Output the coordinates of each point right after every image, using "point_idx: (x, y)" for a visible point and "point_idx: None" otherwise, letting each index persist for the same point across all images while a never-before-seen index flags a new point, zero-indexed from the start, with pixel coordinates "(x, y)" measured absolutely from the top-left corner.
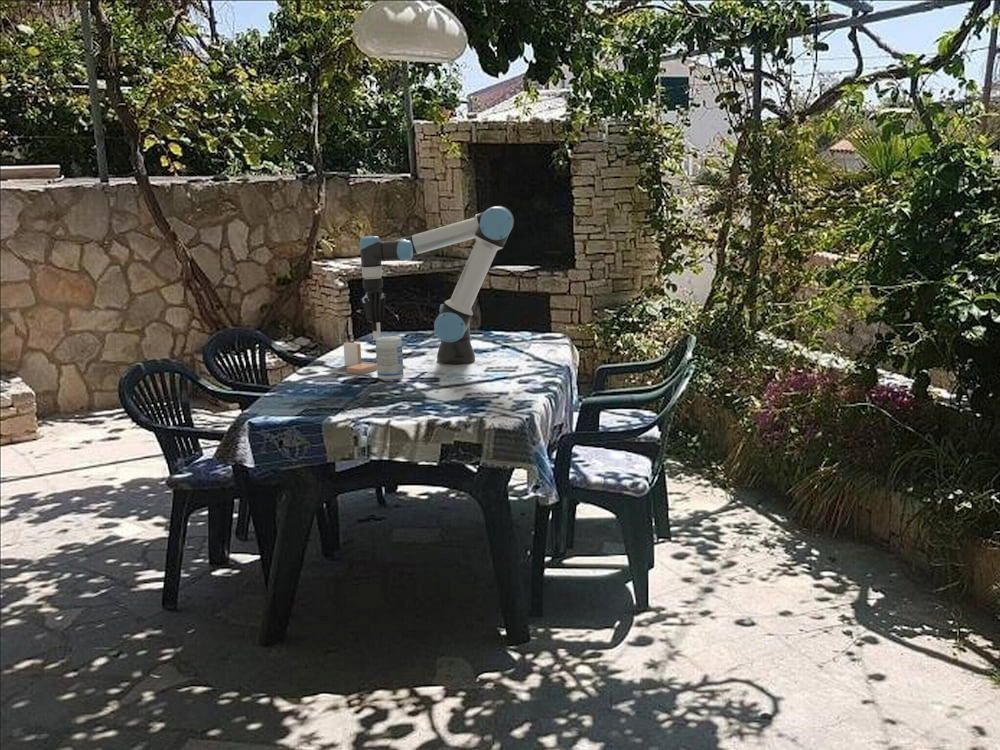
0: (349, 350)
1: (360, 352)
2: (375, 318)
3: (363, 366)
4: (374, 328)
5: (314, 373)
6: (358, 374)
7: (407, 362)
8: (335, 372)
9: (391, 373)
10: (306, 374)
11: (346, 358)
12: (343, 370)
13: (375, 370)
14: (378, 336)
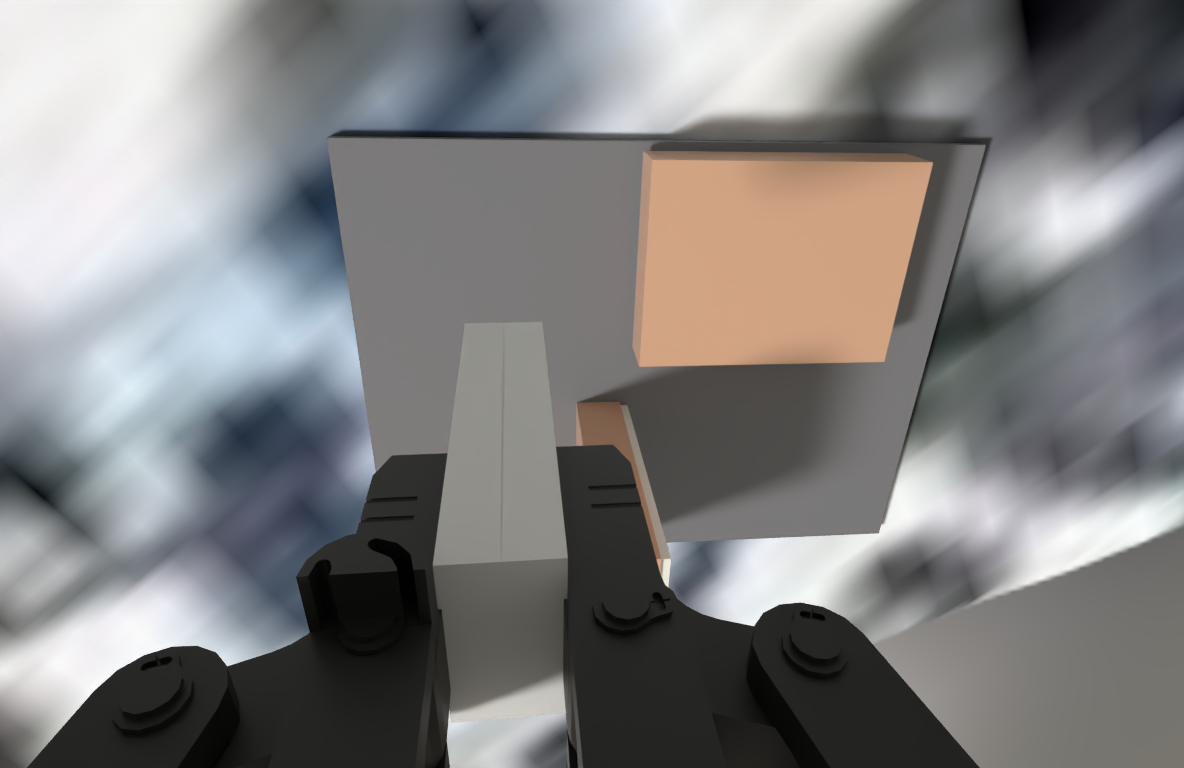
0: None
1: None
2: (657, 704)
3: (792, 236)
4: (635, 488)
5: (919, 550)
6: None
7: (48, 141)
8: (886, 425)
9: None
10: (965, 570)
11: None
12: (789, 425)
13: (671, 144)
14: (542, 349)
